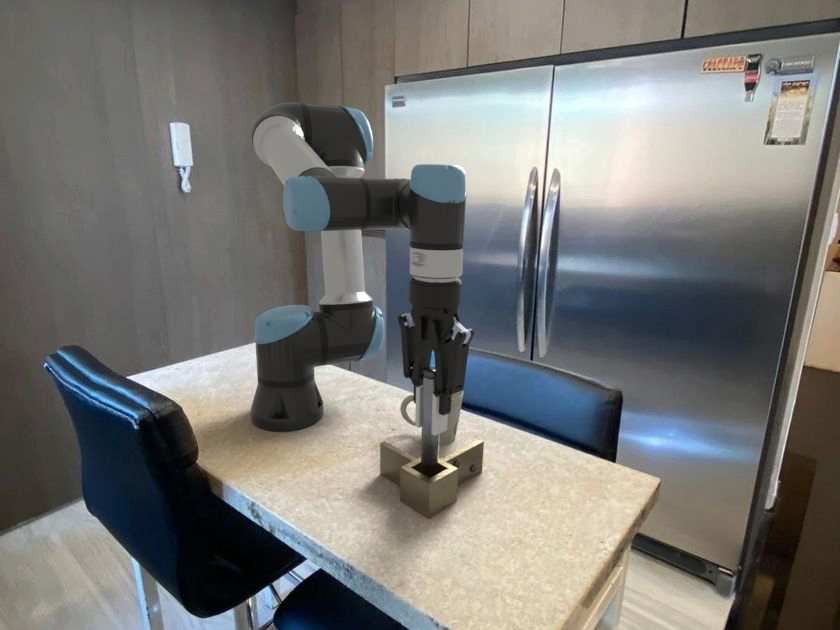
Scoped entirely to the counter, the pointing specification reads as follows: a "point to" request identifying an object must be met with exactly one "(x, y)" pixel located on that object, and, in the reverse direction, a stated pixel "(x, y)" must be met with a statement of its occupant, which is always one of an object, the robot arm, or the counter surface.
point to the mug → (452, 416)
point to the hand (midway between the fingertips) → (431, 427)
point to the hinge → (430, 476)
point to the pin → (429, 419)
